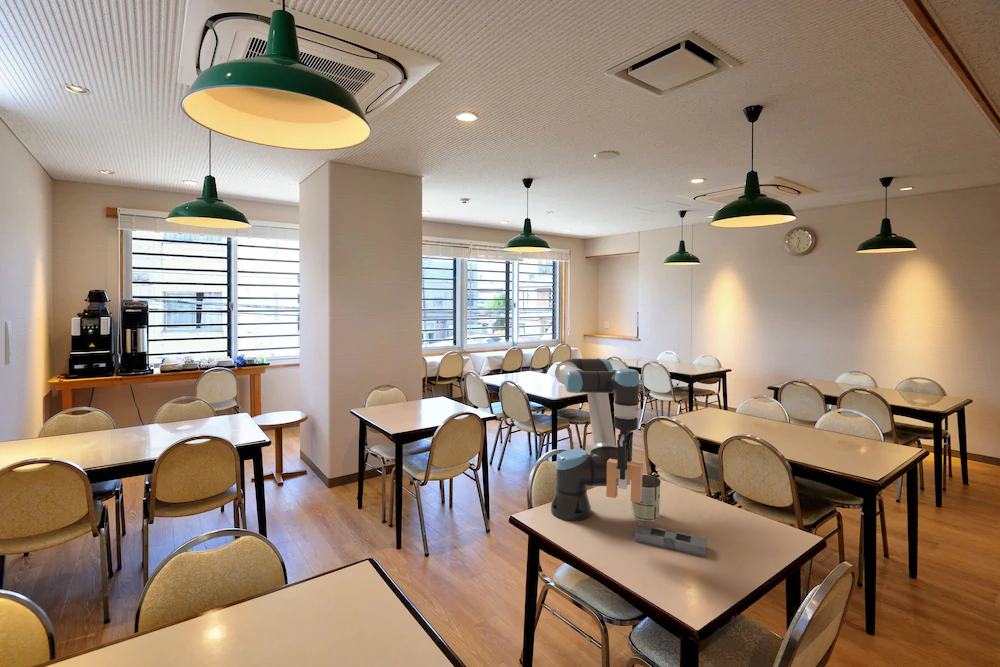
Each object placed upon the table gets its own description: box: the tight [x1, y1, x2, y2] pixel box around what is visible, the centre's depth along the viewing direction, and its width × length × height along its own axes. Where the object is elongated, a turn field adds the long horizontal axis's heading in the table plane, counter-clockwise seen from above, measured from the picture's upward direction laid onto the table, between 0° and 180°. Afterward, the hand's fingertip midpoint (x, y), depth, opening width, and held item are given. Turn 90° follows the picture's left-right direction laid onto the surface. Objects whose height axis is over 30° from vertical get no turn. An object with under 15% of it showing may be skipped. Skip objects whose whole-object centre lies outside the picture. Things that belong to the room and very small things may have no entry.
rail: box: [634, 523, 708, 558], centre depth 159 cm, size 22×7×3 cm, turn 64°
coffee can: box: [630, 474, 661, 523], centre depth 180 cm, size 10×10×14 cm
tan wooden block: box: [605, 459, 644, 503], centre depth 158 cm, size 11×4×12 cm, turn 63°
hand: (624, 485), depth 158 cm, fingers closed on tan wooden block, 3 cm apart
